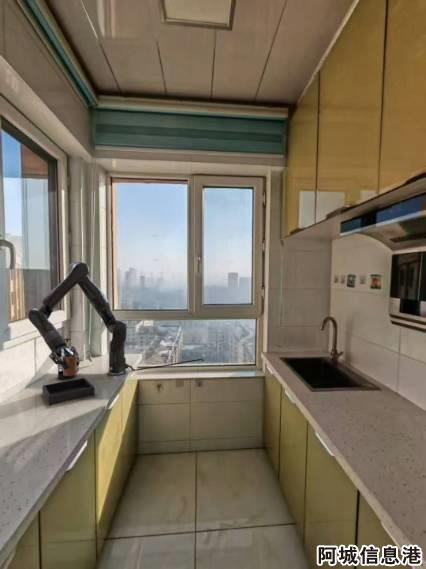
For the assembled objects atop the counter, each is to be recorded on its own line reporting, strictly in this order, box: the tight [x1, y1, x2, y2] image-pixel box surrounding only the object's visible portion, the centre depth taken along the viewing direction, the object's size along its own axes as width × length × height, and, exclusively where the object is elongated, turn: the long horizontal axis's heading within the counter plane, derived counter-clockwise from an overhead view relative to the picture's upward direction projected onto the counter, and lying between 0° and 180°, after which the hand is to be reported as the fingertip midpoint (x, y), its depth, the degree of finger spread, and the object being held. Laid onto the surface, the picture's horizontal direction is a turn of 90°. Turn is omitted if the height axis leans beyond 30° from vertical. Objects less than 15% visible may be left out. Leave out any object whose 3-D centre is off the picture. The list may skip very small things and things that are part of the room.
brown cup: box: [63, 354, 78, 376], centre depth 140 cm, size 6×6×9 cm
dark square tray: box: [41, 377, 95, 406], centre depth 142 cm, size 20×17×5 cm
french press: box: [57, 337, 80, 381], centre depth 168 cm, size 12×9×23 cm
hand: (72, 366), depth 140 cm, fingers closed on brown cup, 6 cm apart
